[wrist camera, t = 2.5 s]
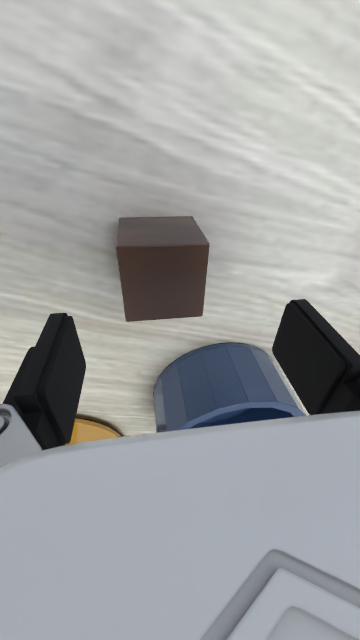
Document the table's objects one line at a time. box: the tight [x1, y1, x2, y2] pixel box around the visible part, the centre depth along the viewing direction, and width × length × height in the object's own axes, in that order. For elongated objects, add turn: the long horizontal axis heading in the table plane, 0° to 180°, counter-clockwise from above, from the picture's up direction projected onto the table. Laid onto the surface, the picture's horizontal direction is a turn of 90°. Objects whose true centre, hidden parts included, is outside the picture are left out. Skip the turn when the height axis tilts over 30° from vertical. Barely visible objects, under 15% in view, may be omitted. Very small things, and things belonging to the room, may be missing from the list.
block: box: [116, 216, 209, 322], centre depth 16 cm, size 5×5×5 cm
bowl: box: [153, 343, 307, 433], centre depth 26 cm, size 14×14×6 cm
